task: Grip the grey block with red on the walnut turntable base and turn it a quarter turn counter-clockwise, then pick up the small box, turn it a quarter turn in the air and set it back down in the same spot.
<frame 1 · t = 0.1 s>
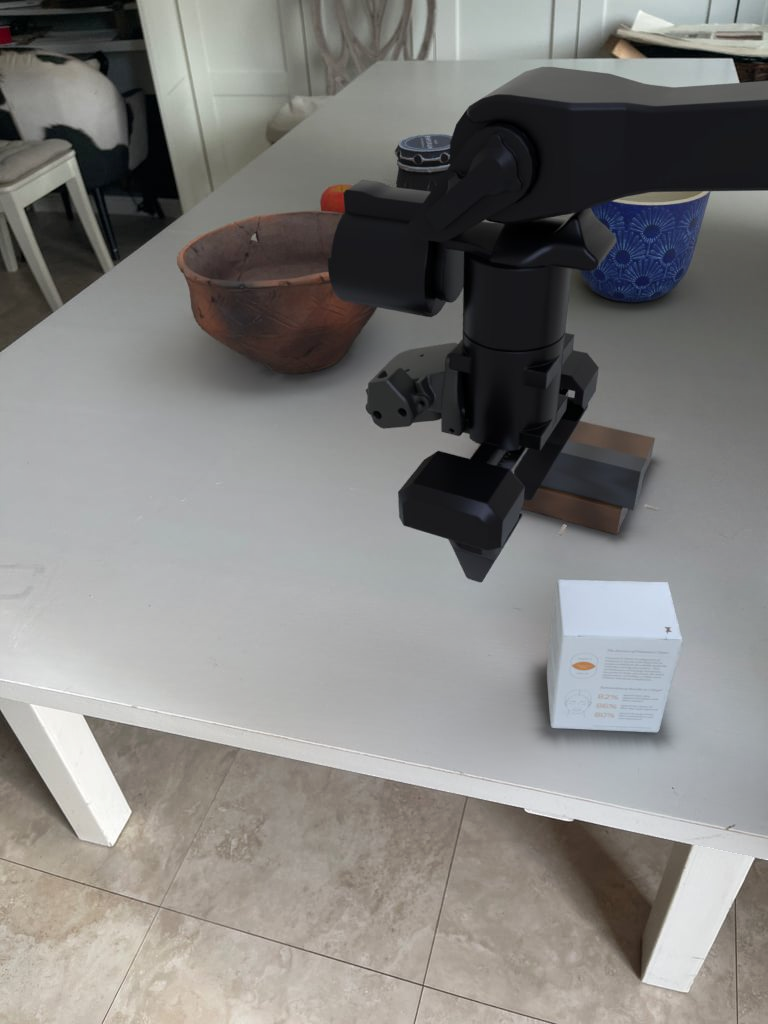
hand: (501, 536, 55), 15 cm above the table, tool pointing down, fingers open, 9 cm apart
grey block with red: (586, 470, 75), point 5 cm above the table, hinge at 0.0°
rack base: (557, 476, 84), on the table
apple: (345, 231, 141), on the table
container: (430, 199, 152), on the table
bowl: (296, 353, 107), on the table
planter: (627, 290, 117), on the table
small box: (599, 703, 62), on the table
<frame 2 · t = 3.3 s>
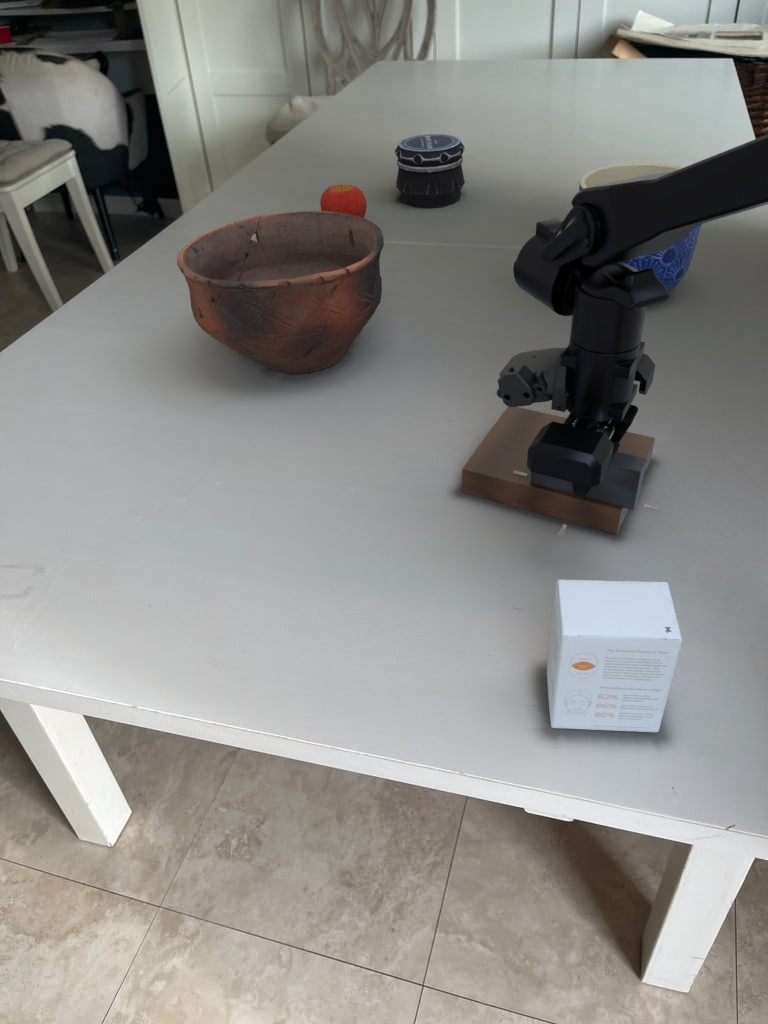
hand: (584, 486, 77), 4 cm above the table, tool pointing down, fingers closed on grey block with red, 2 cm apart
grey block with red: (586, 470, 75), point 5 cm above the table, hinge at 0.0°, touching gripper
everything else where it was.
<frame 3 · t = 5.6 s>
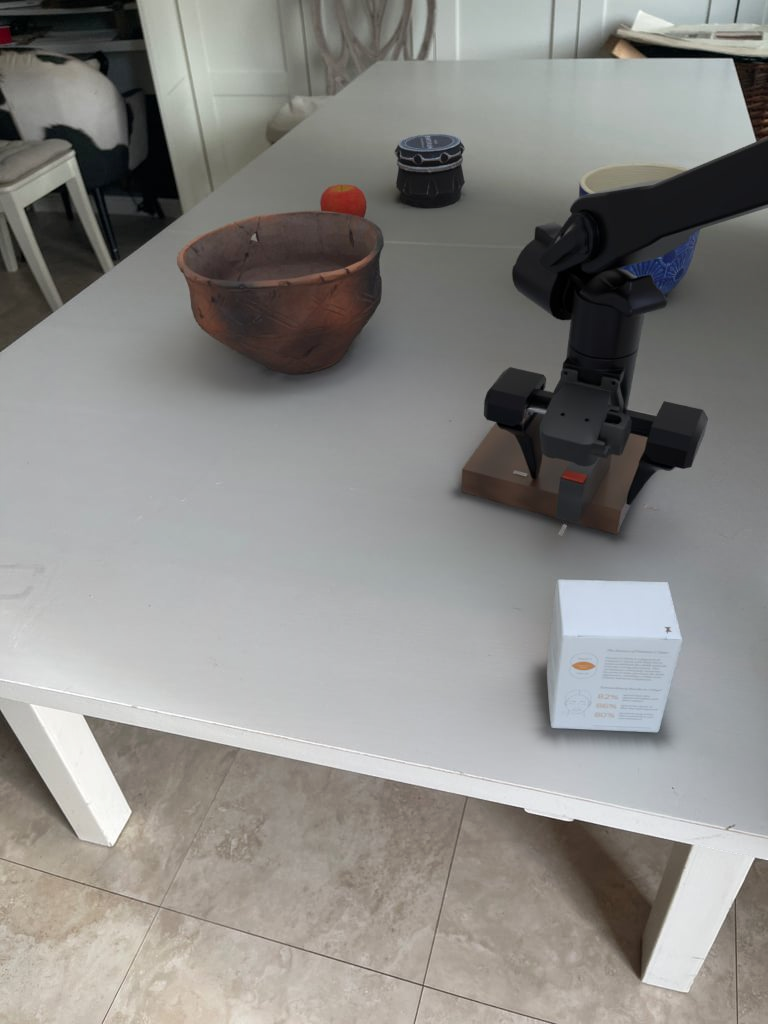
hand: (581, 489, 77), 3 cm above the table, tool pointing down, fingers open, 9 cm apart
grey block with red: (586, 470, 75), point 5 cm above the table, hinge at 89.4°
everything else where it was.
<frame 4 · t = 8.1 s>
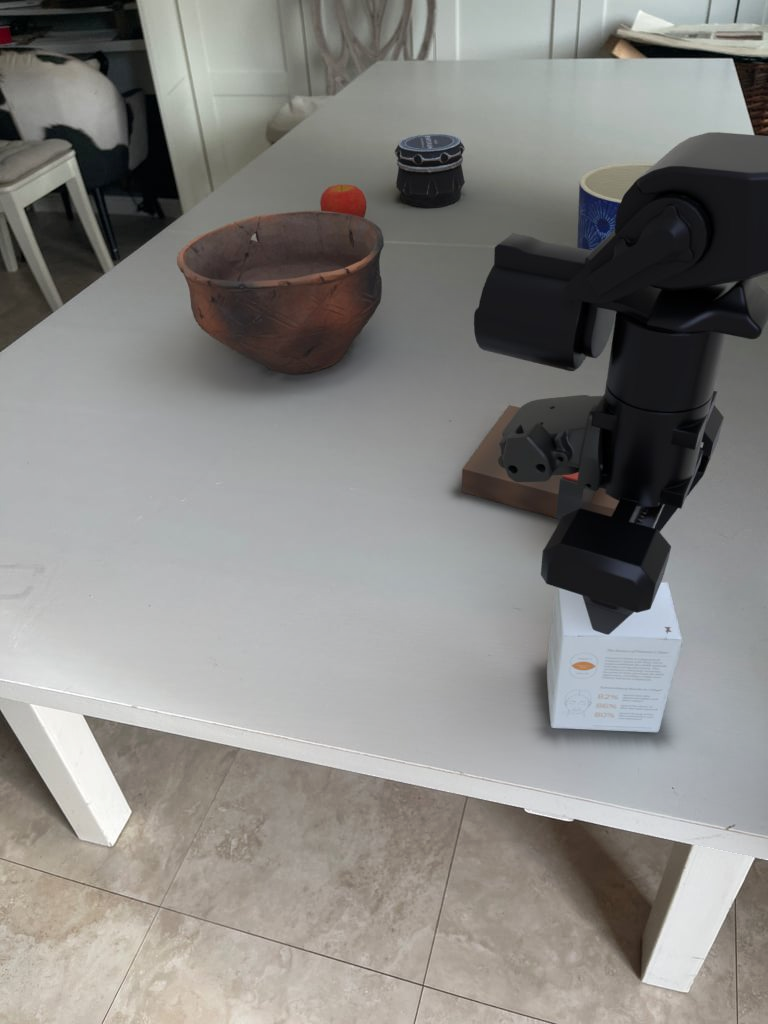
hand: (621, 585, 55), 12 cm above the table, tool pointing down, fingers open, 9 cm apart
nothing on the table moved.
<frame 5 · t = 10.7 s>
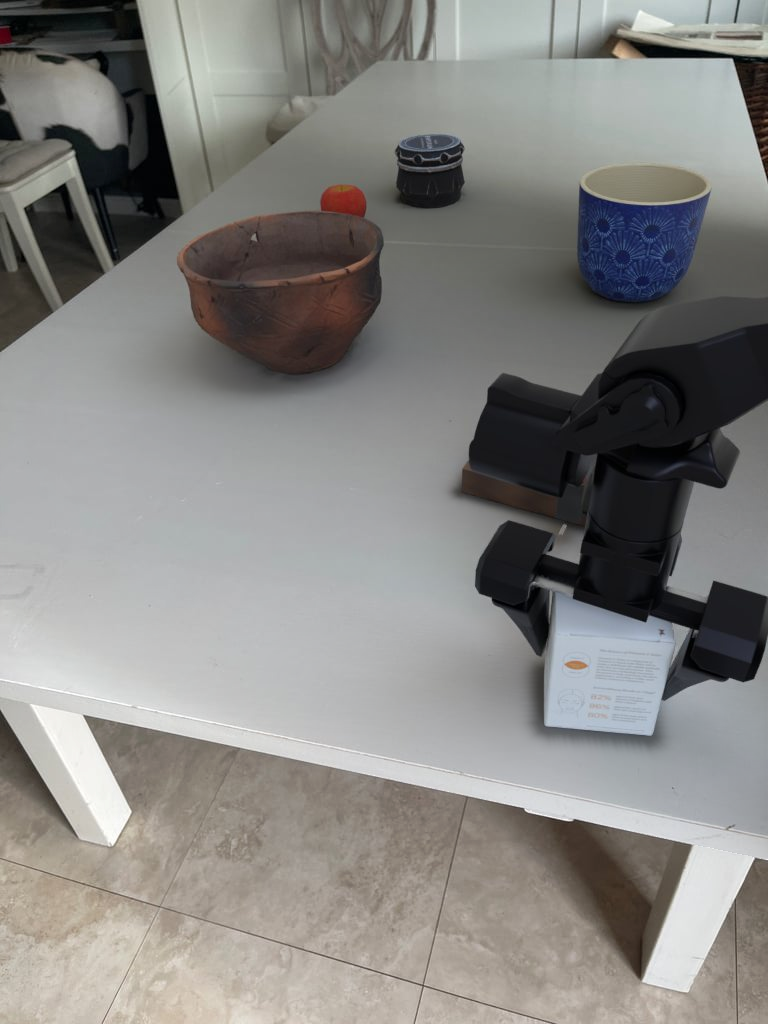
hand: (600, 673, 60), 3 cm above the table, tool pointing down, fingers closed on small box, 9 cm apart
small box: (594, 704, 62), on the table, touching gripper
everything else where it was.
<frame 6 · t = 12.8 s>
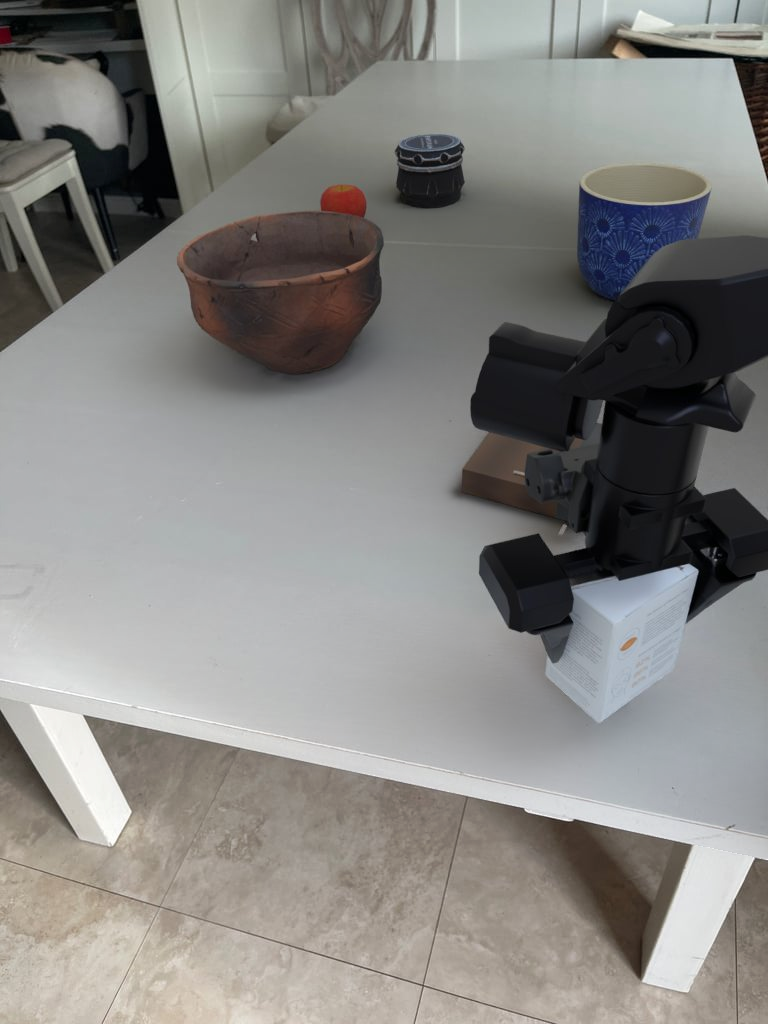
hand: (612, 642, 57), 7 cm above the table, tool pointing down, fingers closed on small box, 9 cm apart
small box: (608, 675, 60), point 3 cm above the table, touching gripper
everything else where it was.
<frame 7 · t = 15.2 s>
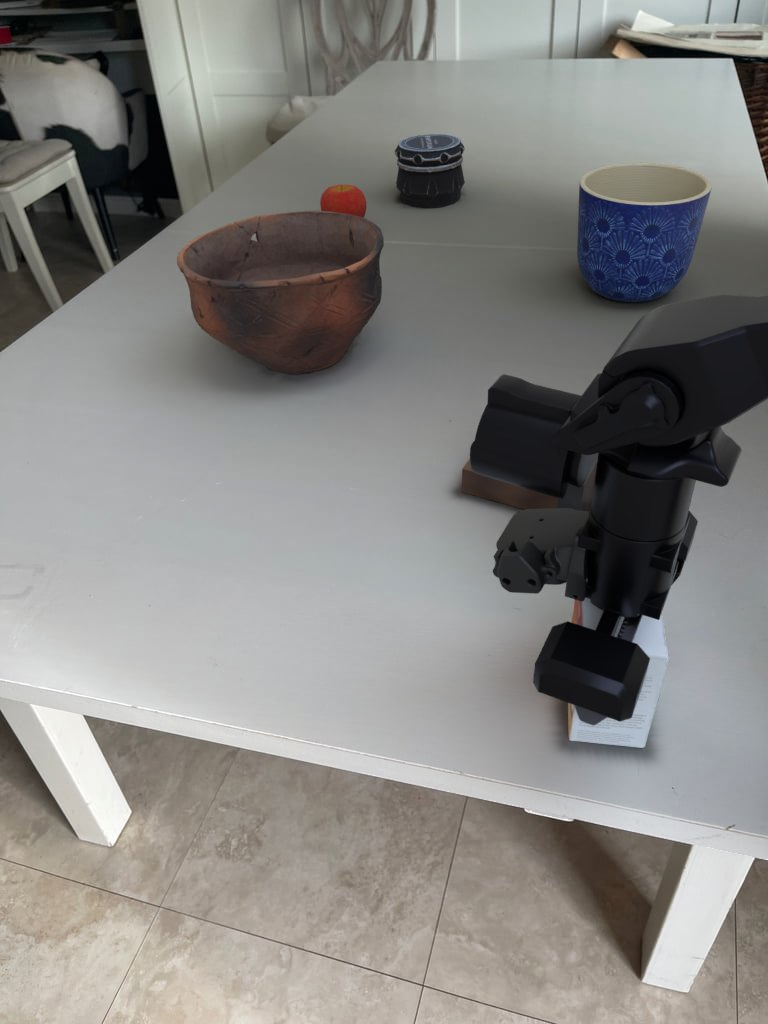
hand: (606, 674, 60), 3 cm above the table, tool pointing down, fingers closed on small box, 9 cm apart
small box: (603, 703, 62), on the table, touching gripper
everything else where it was.
when the fingers open (4 cm above the table, at t = 15.5 s): small box stays where it is, on the table.
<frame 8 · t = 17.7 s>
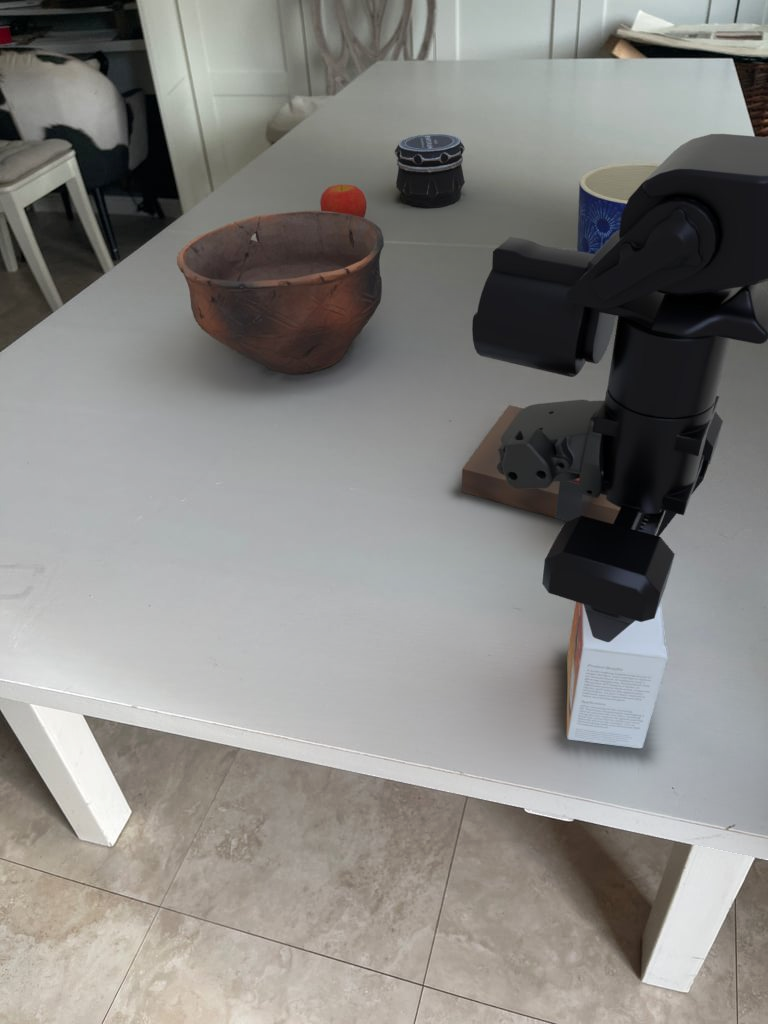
hand: (621, 591, 54), 12 cm above the table, tool pointing down, fingers open, 9 cm apart
small box: (602, 704, 62), on the table
everything else where it was.
at the end: grey block with red at +89° (first picture: +0°); small box tilted 0°; small box 0.2 cm from the target spot, on the table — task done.
